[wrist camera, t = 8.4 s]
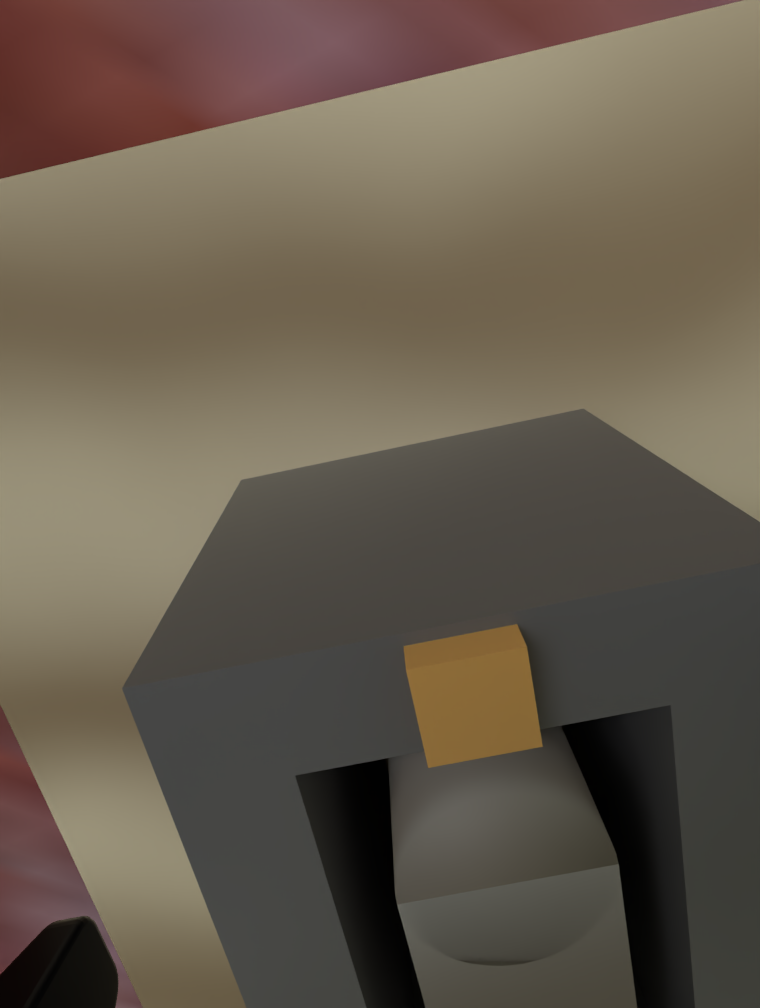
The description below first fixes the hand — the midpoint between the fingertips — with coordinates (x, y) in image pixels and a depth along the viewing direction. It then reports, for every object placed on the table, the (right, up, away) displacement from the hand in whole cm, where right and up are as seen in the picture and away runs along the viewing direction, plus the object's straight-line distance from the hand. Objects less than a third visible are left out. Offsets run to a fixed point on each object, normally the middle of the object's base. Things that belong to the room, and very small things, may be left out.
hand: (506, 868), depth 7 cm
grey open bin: (0, +1, +3) cm, 4 cm away
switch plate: (0, +2, +5) cm, 5 cm away
